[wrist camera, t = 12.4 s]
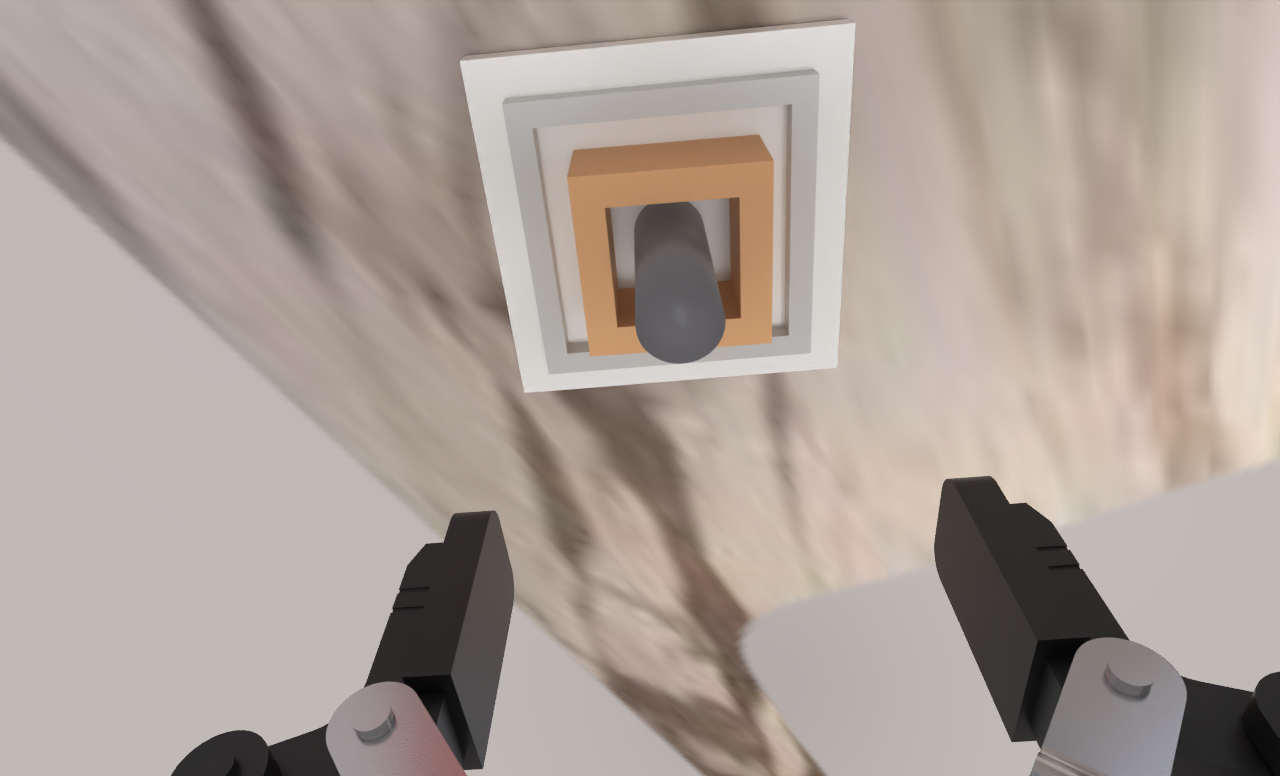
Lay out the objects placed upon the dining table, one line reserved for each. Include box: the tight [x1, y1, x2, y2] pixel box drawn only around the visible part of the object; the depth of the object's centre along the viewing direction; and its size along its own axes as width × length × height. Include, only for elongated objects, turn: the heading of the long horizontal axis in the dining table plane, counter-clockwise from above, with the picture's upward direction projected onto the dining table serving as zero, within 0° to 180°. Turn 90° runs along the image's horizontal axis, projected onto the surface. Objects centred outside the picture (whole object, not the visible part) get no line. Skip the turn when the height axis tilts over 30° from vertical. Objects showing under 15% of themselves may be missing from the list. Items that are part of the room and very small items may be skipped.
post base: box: [460, 19, 856, 393], centre depth 24 cm, size 12×12×8 cm
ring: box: [567, 135, 774, 357], centre depth 25 cm, size 6×6×3 cm
